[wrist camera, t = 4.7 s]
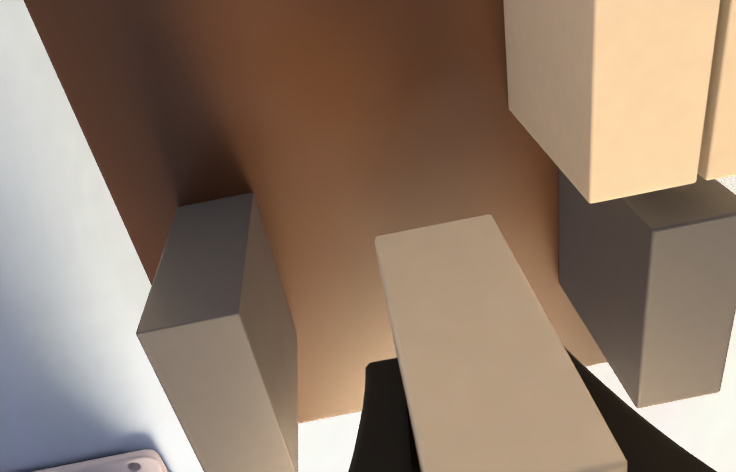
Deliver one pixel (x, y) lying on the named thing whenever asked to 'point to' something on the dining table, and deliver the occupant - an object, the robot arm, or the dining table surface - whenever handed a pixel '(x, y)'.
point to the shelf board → (314, 147)
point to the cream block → (626, 89)
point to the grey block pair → (576, 277)
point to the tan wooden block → (484, 358)
